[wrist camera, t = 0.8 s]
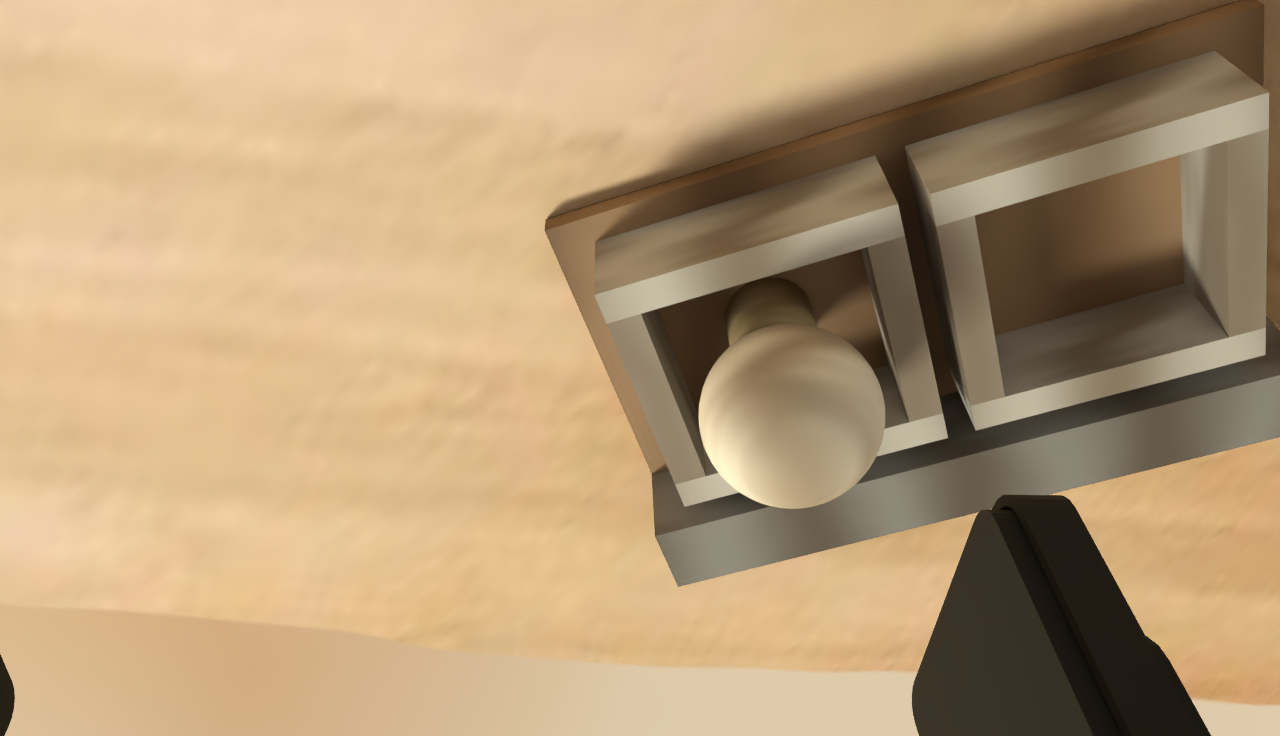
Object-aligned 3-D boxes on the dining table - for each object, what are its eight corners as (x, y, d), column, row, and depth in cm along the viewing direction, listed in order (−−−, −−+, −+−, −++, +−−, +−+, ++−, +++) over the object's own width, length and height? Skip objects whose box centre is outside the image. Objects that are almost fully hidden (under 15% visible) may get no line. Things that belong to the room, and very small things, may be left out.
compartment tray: (1251, -3, 34) (1446, 121, 26) (1250, 359, 43) (1397, 536, 35) (545, 219, 38) (530, 386, 30) (672, 510, 47) (686, 699, 39)
